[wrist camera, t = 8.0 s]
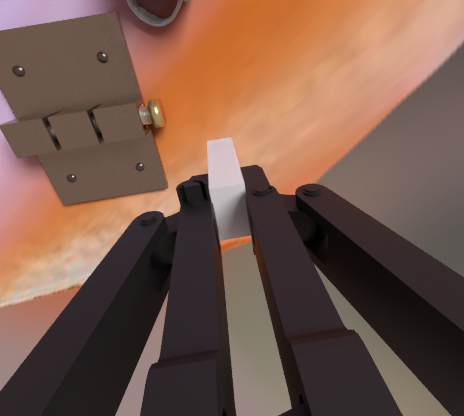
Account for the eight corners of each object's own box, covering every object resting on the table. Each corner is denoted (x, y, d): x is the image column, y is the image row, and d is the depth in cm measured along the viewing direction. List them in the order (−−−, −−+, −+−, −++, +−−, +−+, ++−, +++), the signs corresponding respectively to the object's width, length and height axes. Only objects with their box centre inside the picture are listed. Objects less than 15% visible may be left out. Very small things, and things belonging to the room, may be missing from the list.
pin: (42, 143, 37) (28, 152, 34) (29, 118, 35) (13, 124, 32) (167, 122, 37) (164, 129, 34) (160, 96, 35) (156, 101, 32)
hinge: (66, 202, 42) (52, 218, 38) (-23, 35, 31) (-55, 34, 27) (168, 185, 42) (164, 199, 38) (117, 12, 31) (105, 7, 27)
